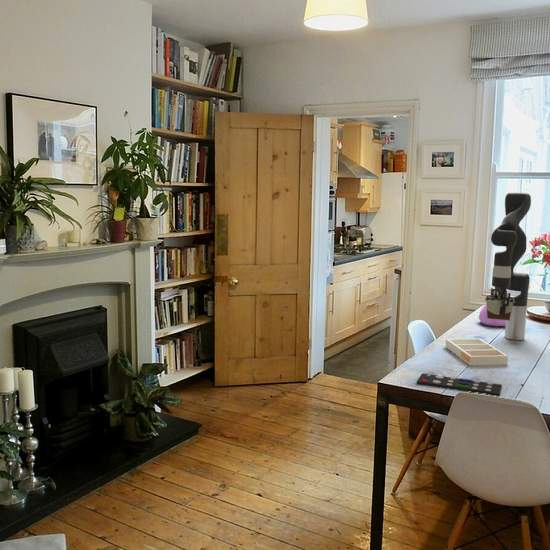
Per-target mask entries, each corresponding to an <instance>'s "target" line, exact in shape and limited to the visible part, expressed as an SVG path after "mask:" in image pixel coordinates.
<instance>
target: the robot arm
mask: <svg viewBox="0 0 550 550" xmlns="http://www.w3.org/2000/svg"><path fill="white" fill-rule="evenodd" d="M531 205H532V197H531V194H529V193H527V192H508V193H506V195H505V198H504V212H505V216H504V218H503V219H502V222H501V224H499V226H498V227H497V228H495V229H494V230H493V232H492V234H491V237H490V241H491V243H492V244H493V246H495V247H505V250H502V251H496V252H494V257H493V258H494V259H493V268H492V274H491V275H492V276H491V286H492V287H491V288H490V295H493V297H494V298H495V297H496V298H498V301H499V302H500V306H501V307H500V315H505V310H506V307H507V306H509V301H510V297H511V292H512V291H513V292H519V293H520V294H517V295H516V296H512V297H513V298H514V300H515V303H514V302H513V307H512V312H511V317H510V321H507V320H506V324H505V326H504V329H505V330H504V338H505V339H508V340H511V341H523V340H525V336H526V323H527V309H528V299H529V297H528V296H529V287H530V282H531V281H530V280H531V278H530V275H529V274H528V273H522V272H514V269H515V267H516V266H517V264H518V262H519V261H520V260H521V258H523V256H524V255H525V253H526V252H527V241H528V239H527V236H526V233H525V232H524V230H523V229H522V227H521V226H520V223H521V222H522V220H523V219H524V218H525V217H526V215H527V214H528V212H529V210H530V209H531ZM508 291H511V292H508ZM506 301H507V303H506ZM502 302H503V303H502Z"/></svg>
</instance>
